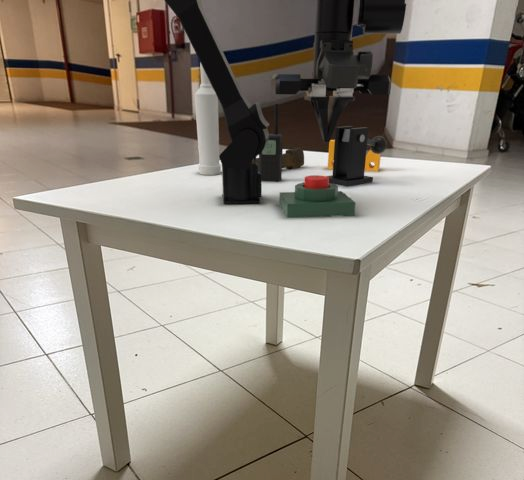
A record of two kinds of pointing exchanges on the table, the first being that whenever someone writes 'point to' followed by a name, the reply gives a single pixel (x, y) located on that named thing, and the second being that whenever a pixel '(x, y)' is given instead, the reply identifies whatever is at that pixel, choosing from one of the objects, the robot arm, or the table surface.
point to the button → (316, 182)
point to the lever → (369, 142)
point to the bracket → (350, 158)
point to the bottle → (207, 127)
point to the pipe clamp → (369, 158)
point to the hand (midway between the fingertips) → (326, 142)
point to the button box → (316, 202)
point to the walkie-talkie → (272, 155)
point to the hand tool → (290, 159)
